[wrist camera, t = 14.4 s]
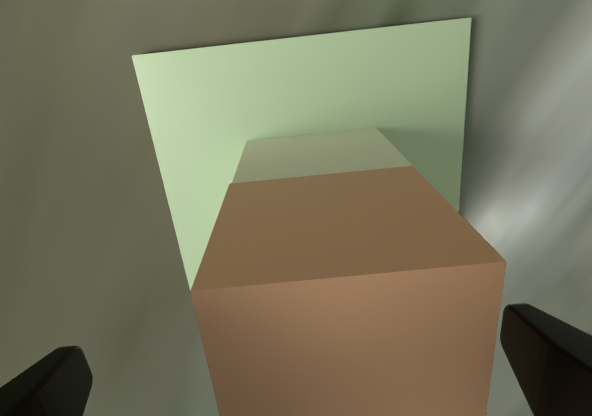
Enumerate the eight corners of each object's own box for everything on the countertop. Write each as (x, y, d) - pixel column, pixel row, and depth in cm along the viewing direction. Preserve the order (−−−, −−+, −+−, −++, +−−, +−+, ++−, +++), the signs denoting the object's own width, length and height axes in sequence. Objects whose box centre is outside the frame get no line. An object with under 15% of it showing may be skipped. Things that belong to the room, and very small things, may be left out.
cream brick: (375, 127, 16) (413, 166, 11) (377, 241, 18) (411, 315, 13) (246, 141, 16) (230, 186, 11) (263, 253, 18) (256, 330, 13)
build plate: (446, 289, 20) (453, 299, 19) (202, 314, 20) (199, 325, 19) (462, 18, 15) (471, 17, 14) (139, 54, 15) (131, 55, 14)
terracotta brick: (412, 165, 11) (506, 261, 6) (409, 314, 13) (478, 469, 8) (229, 183, 11) (190, 291, 6) (254, 329, 13) (237, 490, 8)
